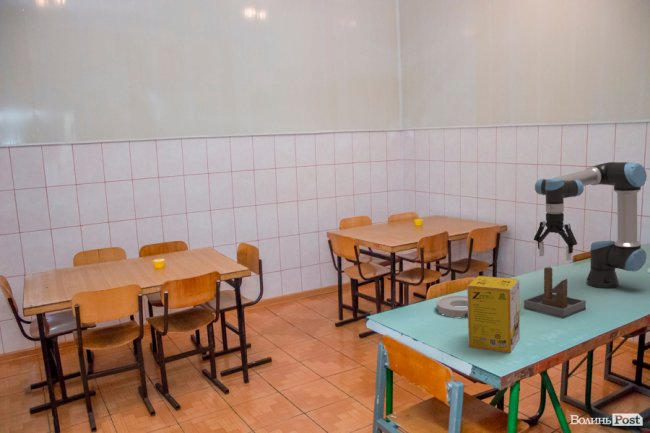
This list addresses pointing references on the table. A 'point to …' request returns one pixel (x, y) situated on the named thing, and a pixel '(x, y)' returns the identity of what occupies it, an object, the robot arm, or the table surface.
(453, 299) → the ashtray
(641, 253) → the robot arm
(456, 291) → the table surface
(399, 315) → the table surface
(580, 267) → the table surface
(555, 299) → the brown round-handled part
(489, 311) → the packaging box
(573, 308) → the tray
